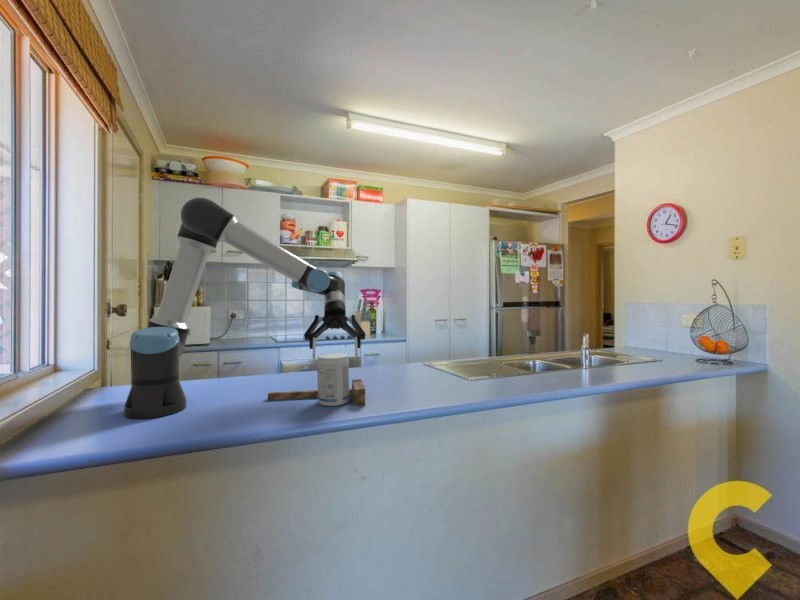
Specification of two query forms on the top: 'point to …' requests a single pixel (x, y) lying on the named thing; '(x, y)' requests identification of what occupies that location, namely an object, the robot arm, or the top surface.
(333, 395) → the supplement tub
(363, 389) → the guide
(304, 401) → the top surface
